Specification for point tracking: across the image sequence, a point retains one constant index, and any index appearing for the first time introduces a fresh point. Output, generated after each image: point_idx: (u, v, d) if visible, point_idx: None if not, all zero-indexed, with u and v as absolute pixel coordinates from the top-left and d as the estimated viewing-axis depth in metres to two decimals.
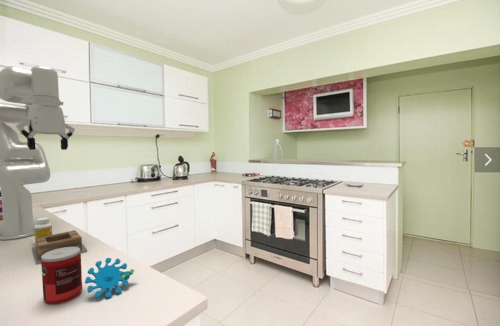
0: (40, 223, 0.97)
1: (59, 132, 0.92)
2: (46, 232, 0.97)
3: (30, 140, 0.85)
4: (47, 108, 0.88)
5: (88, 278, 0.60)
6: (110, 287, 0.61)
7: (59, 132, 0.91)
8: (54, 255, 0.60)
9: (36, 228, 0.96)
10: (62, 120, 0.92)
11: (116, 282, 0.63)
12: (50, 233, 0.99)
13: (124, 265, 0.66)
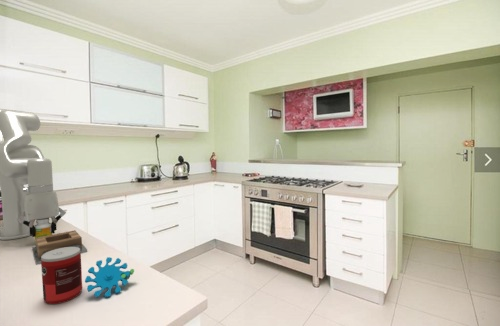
0: (40, 223, 0.97)
1: None
2: (46, 232, 0.97)
3: None
4: None
5: (88, 277, 0.61)
6: (110, 287, 0.62)
7: None
8: (54, 255, 0.60)
9: (36, 228, 0.96)
10: None
11: (116, 282, 0.63)
12: (50, 233, 0.99)
13: (124, 265, 0.67)
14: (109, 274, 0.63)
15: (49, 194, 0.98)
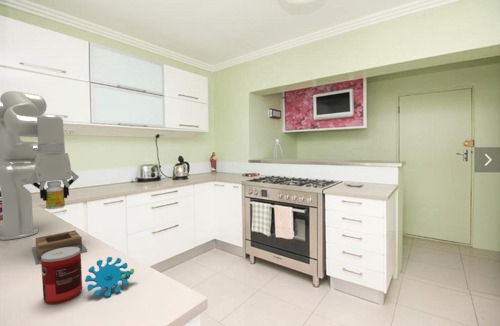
0: (51, 186, 0.88)
1: None
2: (58, 195, 0.89)
3: None
4: None
5: (88, 276, 0.61)
6: (109, 286, 0.62)
7: None
8: (54, 255, 0.60)
9: (47, 191, 0.87)
10: None
11: (116, 281, 0.63)
12: (62, 197, 0.90)
13: (125, 264, 0.67)
14: (109, 274, 0.63)
15: (61, 154, 0.89)
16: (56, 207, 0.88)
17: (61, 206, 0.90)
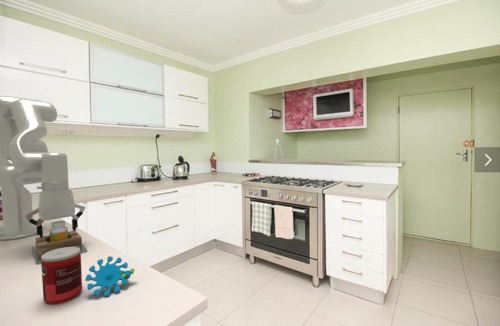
0: (56, 227, 0.88)
1: None
2: (62, 236, 0.89)
3: None
4: None
5: (89, 276, 0.62)
6: (109, 286, 0.62)
7: None
8: (54, 255, 0.60)
9: (51, 232, 0.88)
10: None
11: (116, 281, 0.63)
12: (66, 238, 0.90)
13: (125, 264, 0.67)
14: (109, 273, 0.63)
15: (65, 192, 0.89)
16: None
17: None
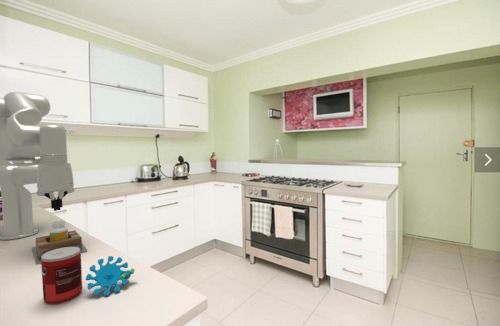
0: (56, 227, 0.88)
1: None
2: (62, 236, 0.89)
3: None
4: None
5: (89, 275, 0.62)
6: (109, 285, 0.62)
7: None
8: (54, 255, 0.60)
9: (51, 232, 0.88)
10: None
11: (116, 281, 0.63)
12: (66, 238, 0.90)
13: (125, 264, 0.67)
14: (109, 273, 0.63)
15: (63, 165, 0.89)
16: None
17: None
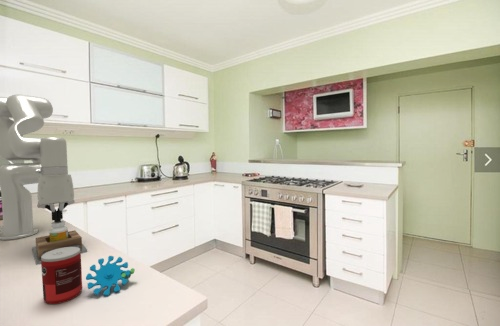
0: (56, 227, 0.88)
1: None
2: (62, 236, 0.89)
3: None
4: None
5: (89, 275, 0.62)
6: (109, 285, 0.62)
7: None
8: (54, 255, 0.60)
9: (51, 232, 0.88)
10: None
11: (116, 280, 0.63)
12: (66, 238, 0.90)
13: (125, 264, 0.67)
14: (109, 273, 0.64)
15: (64, 177, 0.89)
16: None
17: None
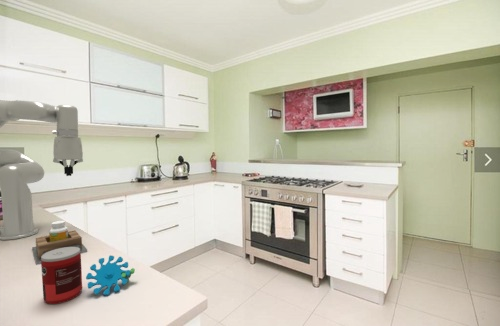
0: (56, 227, 0.88)
1: None
2: (62, 236, 0.89)
3: None
4: None
5: (89, 274, 0.62)
6: (109, 285, 0.62)
7: None
8: (54, 255, 0.60)
9: (51, 232, 0.88)
10: None
11: (116, 280, 0.64)
12: (66, 238, 0.90)
13: (125, 264, 0.67)
14: (109, 272, 0.64)
15: (74, 138, 1.08)
16: None
17: None
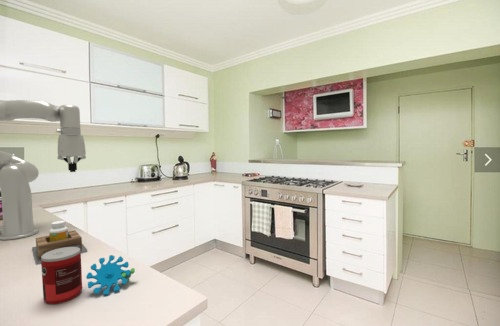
0: (56, 227, 0.88)
1: None
2: (62, 236, 0.89)
3: None
4: None
5: (89, 274, 0.63)
6: (109, 284, 0.62)
7: None
8: (54, 255, 0.60)
9: (51, 232, 0.88)
10: None
11: (116, 280, 0.64)
12: (66, 238, 0.90)
13: (126, 263, 0.67)
14: (109, 272, 0.64)
15: (78, 136, 1.14)
16: None
17: None
